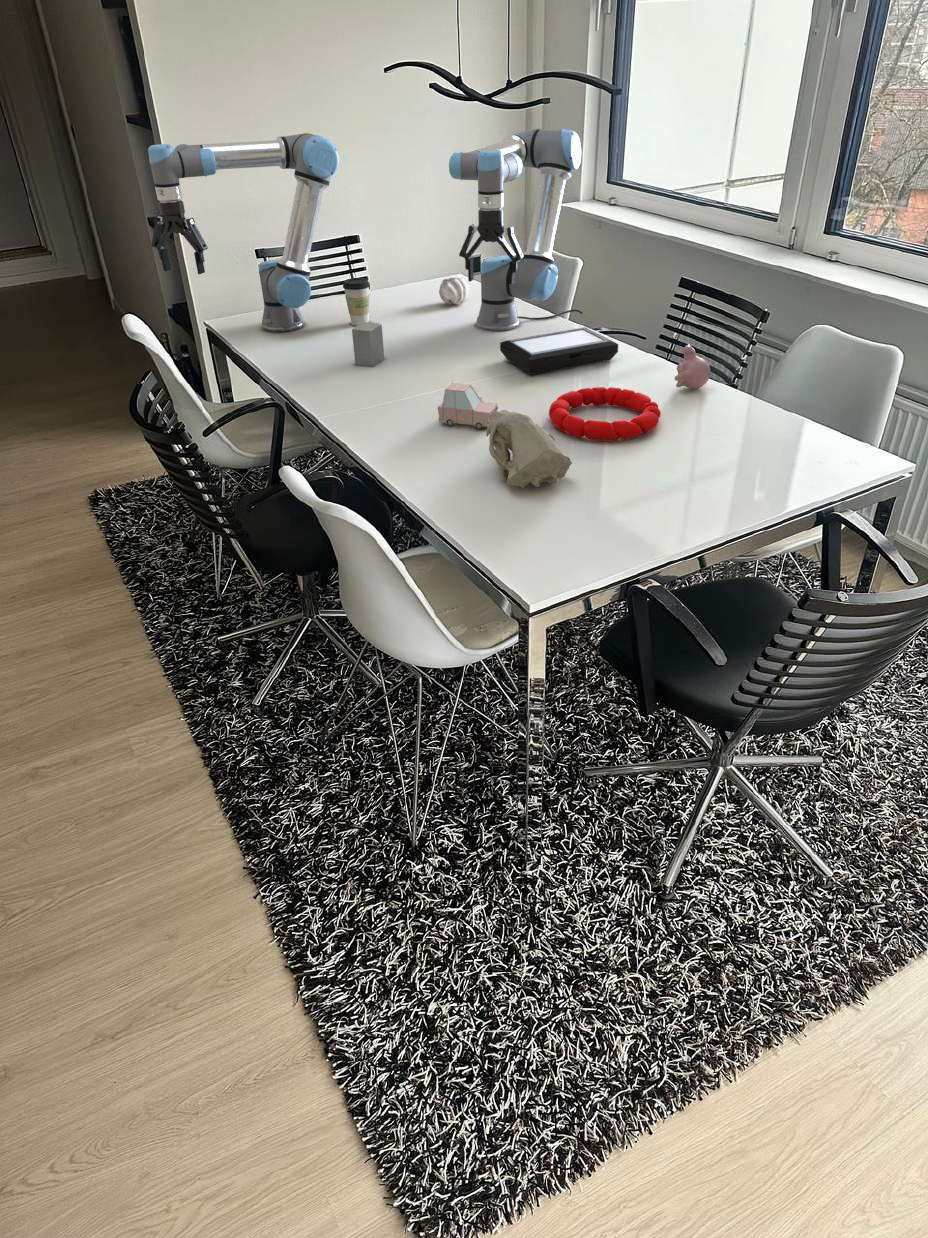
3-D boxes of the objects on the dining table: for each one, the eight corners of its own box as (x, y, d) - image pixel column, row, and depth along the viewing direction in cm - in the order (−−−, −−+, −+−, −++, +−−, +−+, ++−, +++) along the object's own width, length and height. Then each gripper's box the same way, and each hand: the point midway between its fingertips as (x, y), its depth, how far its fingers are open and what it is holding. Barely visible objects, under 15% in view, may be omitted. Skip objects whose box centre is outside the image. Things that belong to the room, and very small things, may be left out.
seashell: (432, 303, 345) (431, 277, 340) (465, 297, 351) (465, 271, 345) (444, 310, 338) (443, 282, 332) (478, 303, 343) (478, 276, 338)
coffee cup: (372, 326, 323) (368, 283, 314) (345, 327, 323) (340, 284, 315) (374, 318, 331) (371, 276, 322) (348, 319, 331) (344, 277, 323)
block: (355, 364, 289) (351, 329, 283) (367, 356, 295) (364, 321, 289) (372, 366, 287) (369, 330, 280) (384, 358, 293) (381, 323, 287)
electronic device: (528, 357, 271) (500, 339, 286) (528, 377, 274) (500, 358, 289) (618, 341, 281) (586, 325, 296) (617, 360, 284) (585, 343, 300)
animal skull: (496, 517, 219) (521, 479, 201) (463, 429, 225) (484, 384, 207) (557, 503, 225) (586, 465, 206) (523, 417, 231) (549, 373, 212)
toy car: (488, 432, 240) (488, 396, 234) (436, 426, 244) (434, 390, 239) (499, 419, 247) (499, 384, 241) (448, 413, 252) (447, 379, 246)
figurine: (665, 387, 264) (669, 347, 257) (693, 380, 268) (698, 340, 261) (686, 396, 257) (690, 355, 250) (714, 388, 262) (720, 348, 255)
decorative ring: (589, 435, 224) (684, 402, 234) (527, 398, 247) (617, 369, 256) (589, 461, 229) (683, 427, 238) (529, 422, 251) (617, 393, 260)
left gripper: (130, 200, 279) (146, 271, 291) (195, 204, 270) (209, 277, 282) (146, 196, 285) (161, 266, 297) (210, 200, 276) (223, 271, 288)
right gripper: (447, 209, 269) (450, 282, 281) (526, 212, 261) (525, 287, 273) (456, 204, 275) (458, 276, 287) (534, 207, 267) (532, 281, 279)
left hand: (184, 271), depth 290 cm, fingers open, 13 cm apart
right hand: (491, 281), depth 280 cm, fingers open, 13 cm apart
